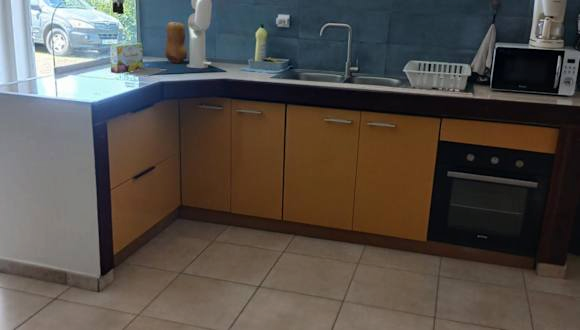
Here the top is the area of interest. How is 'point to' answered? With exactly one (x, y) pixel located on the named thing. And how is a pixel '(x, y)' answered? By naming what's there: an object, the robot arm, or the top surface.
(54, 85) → the top surface
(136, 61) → the snack box
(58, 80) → the top surface
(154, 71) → the mat
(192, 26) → the robot arm
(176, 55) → the butternut squash
